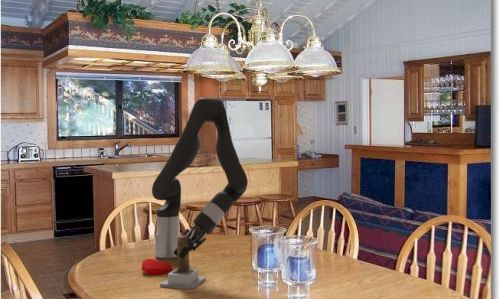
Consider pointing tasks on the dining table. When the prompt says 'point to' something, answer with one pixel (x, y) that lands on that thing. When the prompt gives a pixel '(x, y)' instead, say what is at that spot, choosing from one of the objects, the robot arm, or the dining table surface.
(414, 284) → the dining table surface
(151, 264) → the heart
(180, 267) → the dark brown block
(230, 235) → the dining table surface
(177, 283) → the gray flanged square socket
